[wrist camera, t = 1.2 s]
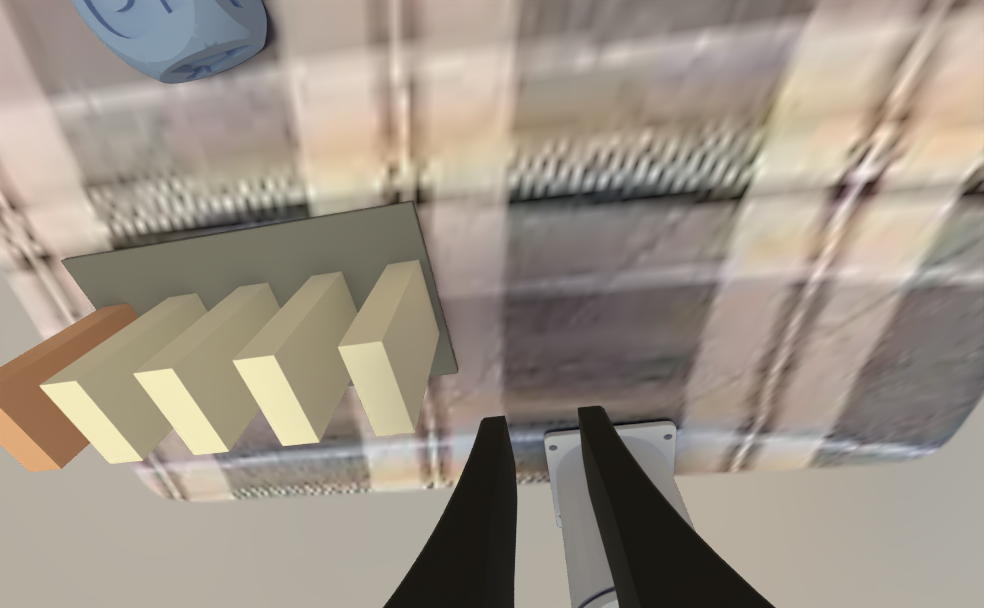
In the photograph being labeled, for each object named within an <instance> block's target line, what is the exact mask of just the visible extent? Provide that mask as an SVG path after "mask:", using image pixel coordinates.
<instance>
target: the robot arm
mask: <svg viewBox="0 0 984 608" xmlns="http://www.w3.org/2000/svg"><path fill="white" fill-rule="evenodd" d="M578 416H579V427H580V430H570V431H560V432H551V433H548V434H546V435H545V436H544V444H545V450H546V456H547V463H548V469H549V476H550V482H551V489H552V495H553V501H554V508H555V514H556V521H557V525H558V527H560V528H562V532H563V540H564V548H565V556H566V564H567V573H568V581H569V588H570V597H571V605H572V608H775V607H774V606H773V605H772V604H771V603H769V602H768V601H767V600H766V599H765V598H764V597H763V596H762V595H760V594H759V593H758V592H757V591H756V590H755V589H754V588H753V587H751V585H749V584H748V583H747V582H746V581H745V580H744V579H743V578H742V577H741V576H740V575H739V574H738V573H737V572H736V571H735V570H734V569H732V568H731V567H730V566H729V565H728V564H727V563H726V562H725V561H724V560H723V559H722V558H721V557H720V556H719V555H718V554H717V553H716V552H714V550H713V549H712V548H711V547H710V546H709V545H708V544H707V543H706V542H705V541H704V540H703V539H702V538H701V537H700V536H699V535H698V534H697V533H696V531H695V529H694V527H693V524H692V522H691V519H690V517H689V514H688V512H687V510H686V507H685V505H684V502H683V500H682V497H681V495H680V492H679V490H678V488H677V485H676V483H675V480H674V478H673V476H674V461H675V445H676V427H675V425H674V423H673V422H671V421H661V422H651V423H641V424H631V425H621V426H613V425H612V423H611V421H610V419H609V418H608V416H607V414H606V412H605V410H604V408H603V407H601V406H600V405H599V406H590V407H581V408H578ZM666 434H668V435H666ZM551 445H555V446H551ZM516 523H517V483H516V468H515V460H514V455H513V451H512V446H511V441H510V437H509V432H508V427H507V423H506V418H505V416H497V417H487V418H484V419H483V420H482V421H481V423H480V427H479V430H478V433H477V436H476V439H475V442H474V445H473V448H472V450H471V453H470V456H469V458H468V461H467V463H466V465H465V468H464V470H463V472H462V475H461V477H460V479H459V482H458V484H457V486H456V488H455V490H454V492H453V494H452V496H451V498H450V500H449V503H448V505H447V506H446V509H445V511H444V513H443V515H442V516H441V518H440V520H439V522H438V524H437V526H436V527H435V529H434V531H433V533H432V535H431V536H430V538H429V540H428V542H427V543H426V545H425V546H424V548H423V550H422V551H421V553H420V555H419V556H418V558H417V559H416V561H415V562H414V564H413V565H412V567H411V569H410V570H409V572H408V573H407V575H406V576H405V578H404V579H403V581H402V582H401V584H400V585H399V587H398V588H397V589H396V591H395V592H394V594H393V595H392V596H391V598H390V599H389V600H388V602H387V603H386V604H385V606H384V607H383V608H514V575H515V573H514V572H515V549H516Z"/></svg>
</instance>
